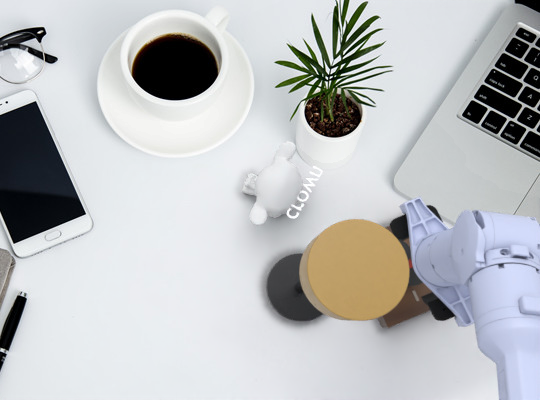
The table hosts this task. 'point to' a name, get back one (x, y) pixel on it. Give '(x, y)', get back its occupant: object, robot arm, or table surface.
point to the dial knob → (413, 275)
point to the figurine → (277, 186)
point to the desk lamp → (342, 274)
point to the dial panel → (406, 303)
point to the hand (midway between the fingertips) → (415, 266)
